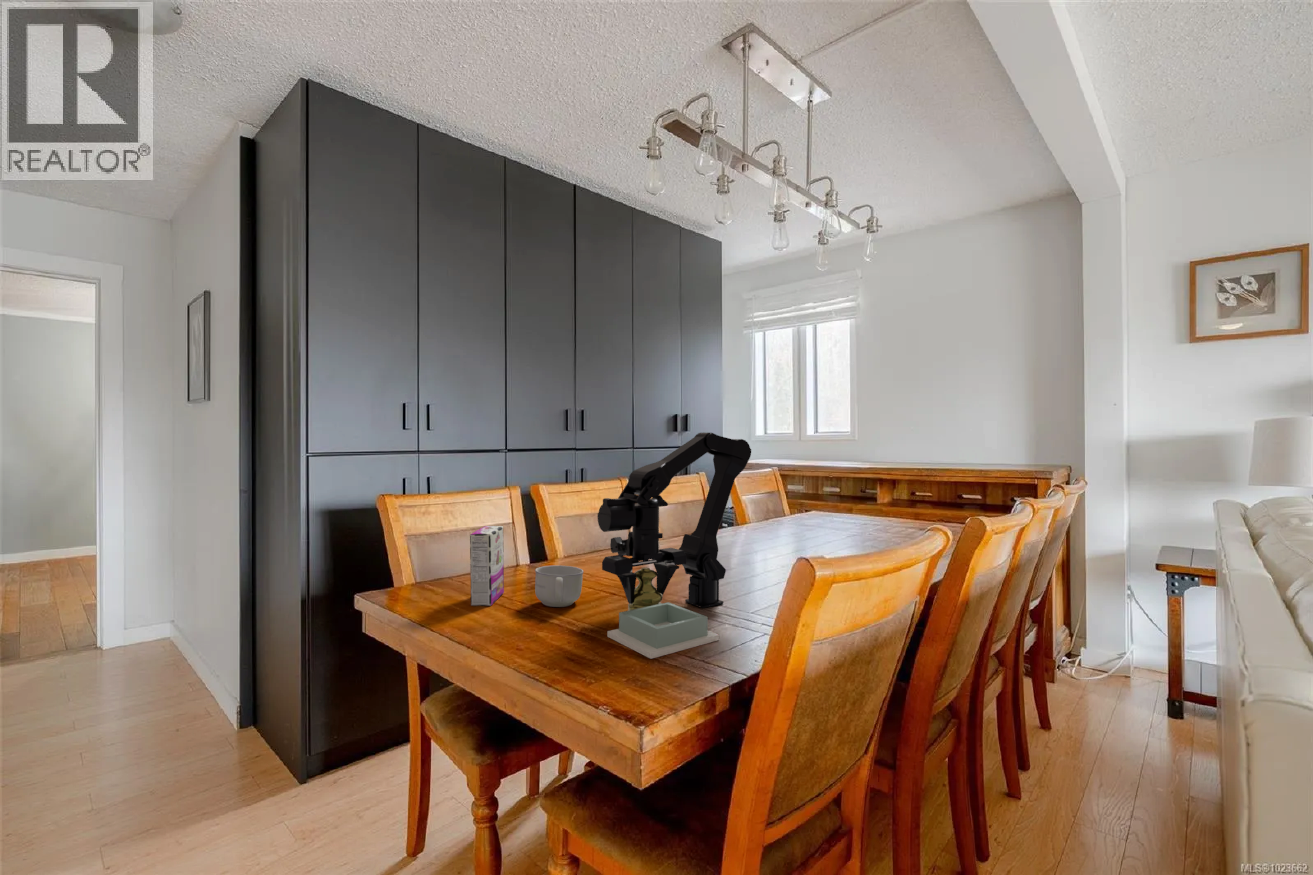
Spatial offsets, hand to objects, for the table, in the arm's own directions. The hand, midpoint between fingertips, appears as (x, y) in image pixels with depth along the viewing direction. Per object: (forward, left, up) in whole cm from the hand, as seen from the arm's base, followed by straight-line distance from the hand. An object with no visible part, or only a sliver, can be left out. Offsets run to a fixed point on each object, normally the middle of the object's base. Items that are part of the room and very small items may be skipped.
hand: (645, 600), depth 129 cm
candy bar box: (+23, -31, -3) cm, 39 cm away
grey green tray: (+6, +14, -3) cm, 16 cm away
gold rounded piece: (0, 0, -3) cm, 3 cm away
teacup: (+12, -17, -3) cm, 21 cm away
